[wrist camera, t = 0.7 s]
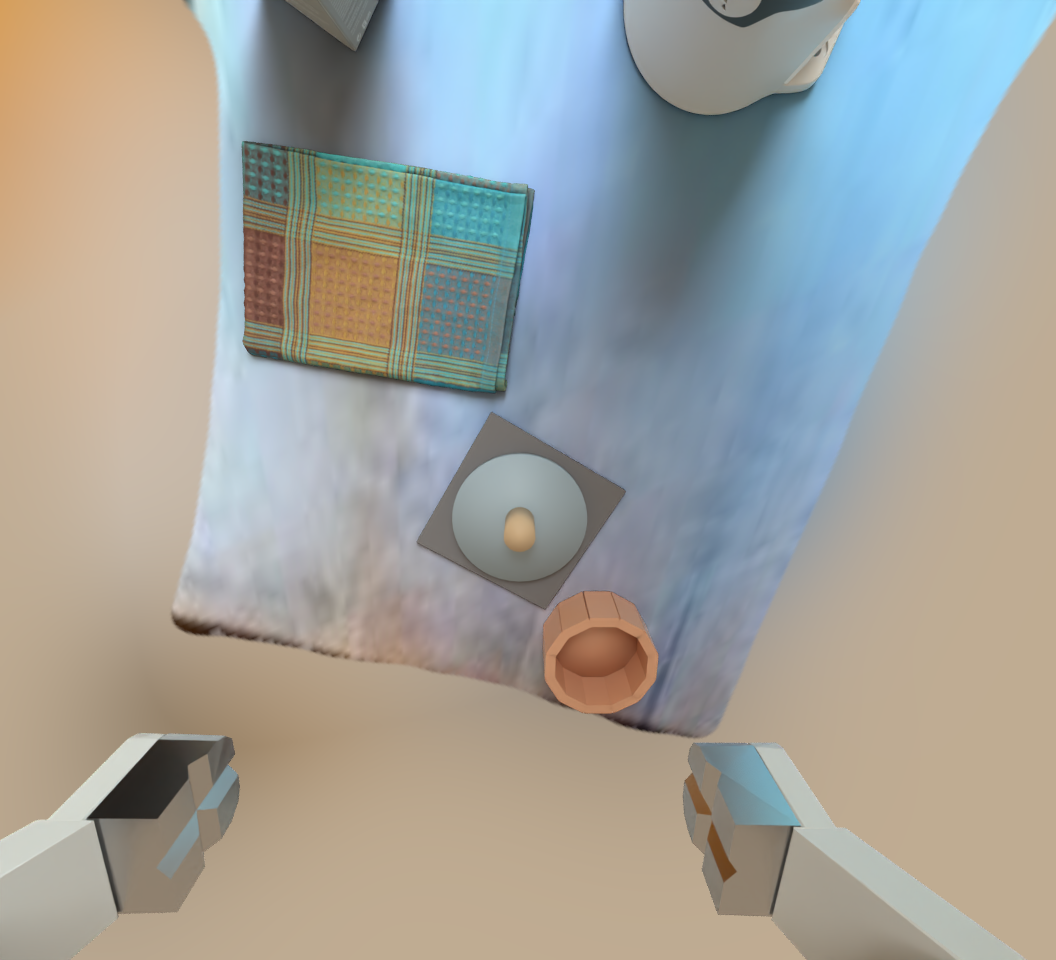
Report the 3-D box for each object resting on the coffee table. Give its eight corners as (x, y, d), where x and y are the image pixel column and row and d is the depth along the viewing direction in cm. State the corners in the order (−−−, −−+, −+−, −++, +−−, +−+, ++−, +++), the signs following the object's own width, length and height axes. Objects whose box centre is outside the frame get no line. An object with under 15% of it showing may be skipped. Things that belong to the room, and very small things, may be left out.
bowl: (578, 573, 50) (584, 598, 46) (665, 620, 52) (679, 649, 47) (524, 652, 53) (524, 684, 48) (608, 695, 55) (616, 729, 50)
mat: (491, 411, 45) (491, 412, 45) (624, 489, 48) (625, 491, 47) (417, 539, 49) (416, 542, 48) (544, 606, 51) (545, 609, 51)
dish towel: (507, 395, 46) (507, 399, 43) (252, 357, 44) (236, 358, 42) (536, 191, 41) (537, 182, 38) (250, 141, 40) (233, 128, 37)
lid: (495, 427, 45) (492, 438, 41) (611, 494, 47) (621, 513, 43) (430, 538, 48) (420, 561, 44) (542, 597, 50) (544, 625, 46)
